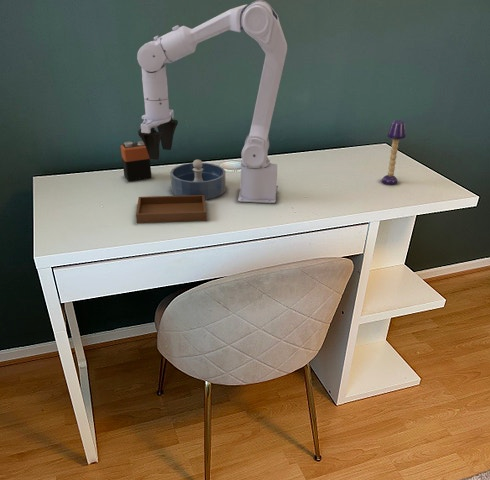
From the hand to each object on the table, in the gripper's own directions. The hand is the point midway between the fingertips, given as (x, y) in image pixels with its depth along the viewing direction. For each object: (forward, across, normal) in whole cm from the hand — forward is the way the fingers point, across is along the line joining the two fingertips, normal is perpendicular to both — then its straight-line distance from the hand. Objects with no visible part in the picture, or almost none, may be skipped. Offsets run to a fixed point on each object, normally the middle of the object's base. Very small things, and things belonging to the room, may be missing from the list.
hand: (160, 154), depth 126 cm
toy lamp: (+10, -27, +56) cm, 63 cm away
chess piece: (+10, -4, +8) cm, 14 cm away
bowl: (+10, -4, +8) cm, 14 cm away
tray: (+10, +11, +7) cm, 17 cm away
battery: (+10, -7, -11) cm, 16 cm away
